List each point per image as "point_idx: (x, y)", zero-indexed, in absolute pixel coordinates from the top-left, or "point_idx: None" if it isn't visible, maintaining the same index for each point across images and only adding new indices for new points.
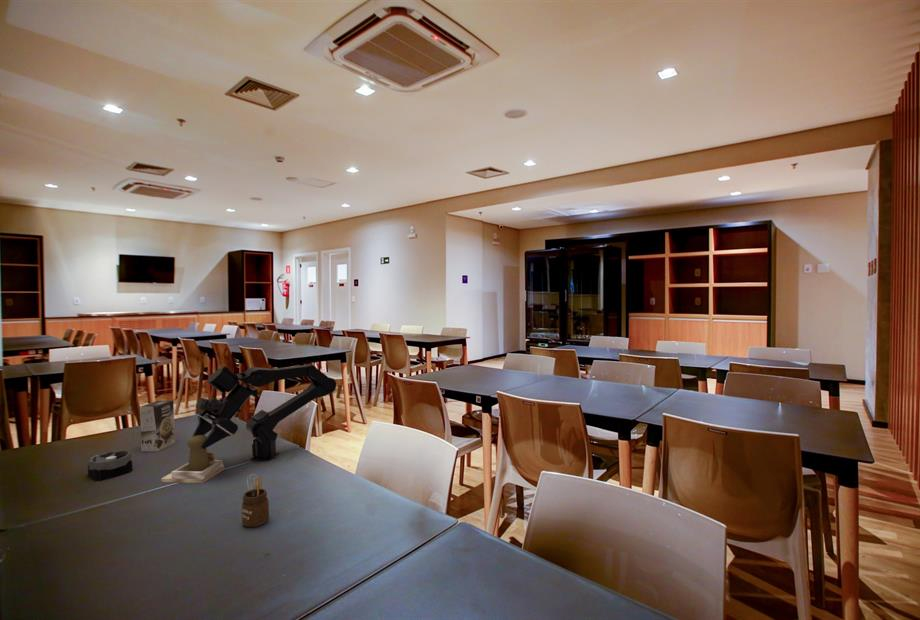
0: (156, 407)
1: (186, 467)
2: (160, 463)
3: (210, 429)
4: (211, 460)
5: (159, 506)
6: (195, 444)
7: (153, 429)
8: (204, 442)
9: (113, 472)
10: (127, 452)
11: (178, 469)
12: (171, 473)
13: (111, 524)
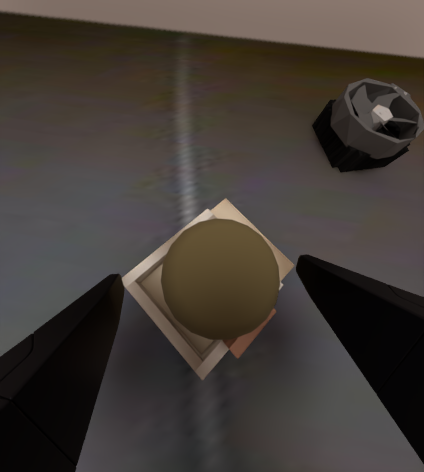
0: None
1: None
2: (363, 224)
3: (391, 409)
4: None
5: (64, 173)
6: (168, 250)
7: None
8: (88, 293)
9: (327, 134)
10: (404, 140)
11: None
12: (246, 223)
13: (59, 103)
